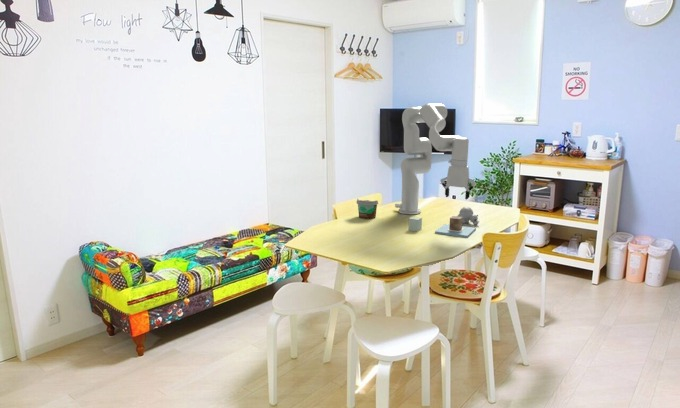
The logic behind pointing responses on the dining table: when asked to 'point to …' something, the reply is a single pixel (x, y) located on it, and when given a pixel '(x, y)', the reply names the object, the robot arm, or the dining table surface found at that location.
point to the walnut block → (455, 223)
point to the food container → (367, 209)
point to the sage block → (415, 223)
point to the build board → (462, 233)
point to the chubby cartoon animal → (468, 215)
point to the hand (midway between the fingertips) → (456, 197)
